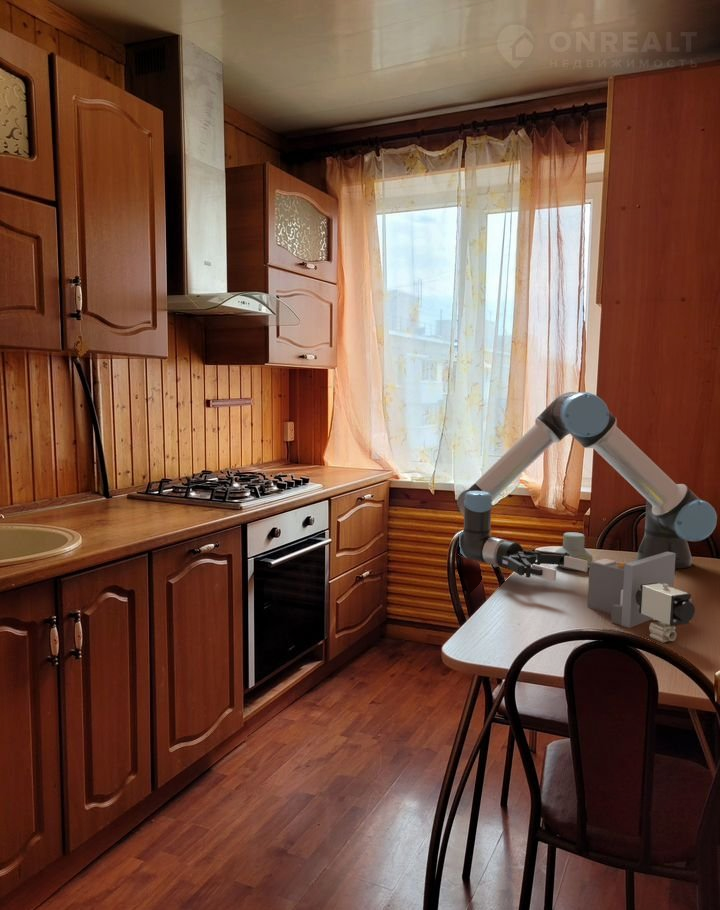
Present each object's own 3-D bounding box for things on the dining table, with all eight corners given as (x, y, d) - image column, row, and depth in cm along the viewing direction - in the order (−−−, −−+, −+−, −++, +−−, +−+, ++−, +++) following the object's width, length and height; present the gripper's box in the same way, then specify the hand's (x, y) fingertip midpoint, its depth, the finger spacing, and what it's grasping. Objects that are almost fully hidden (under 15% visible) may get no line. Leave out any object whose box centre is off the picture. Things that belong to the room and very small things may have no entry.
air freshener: (562, 572, 198) (564, 538, 197) (548, 565, 206) (550, 531, 205) (597, 570, 201) (598, 536, 200) (582, 563, 209) (583, 530, 208)
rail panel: (653, 606, 169) (657, 549, 168) (672, 610, 166) (675, 553, 164) (611, 622, 157) (614, 561, 156) (629, 628, 154) (633, 565, 152)
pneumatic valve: (676, 651, 141) (680, 593, 140) (632, 631, 152) (635, 577, 150) (696, 647, 143) (700, 590, 142) (651, 628, 154) (654, 575, 153)
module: (599, 603, 171) (601, 555, 170) (641, 615, 163) (644, 564, 162) (587, 607, 168) (589, 558, 167) (629, 619, 160) (632, 568, 158)
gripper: (531, 560, 199) (598, 576, 182) (472, 574, 183) (540, 594, 167) (532, 534, 198) (599, 548, 182) (473, 546, 182) (541, 563, 166)
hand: (571, 570), depth 174 cm, fingers open, 13 cm apart
